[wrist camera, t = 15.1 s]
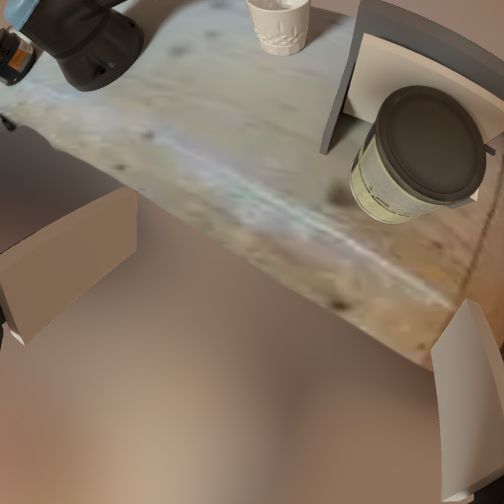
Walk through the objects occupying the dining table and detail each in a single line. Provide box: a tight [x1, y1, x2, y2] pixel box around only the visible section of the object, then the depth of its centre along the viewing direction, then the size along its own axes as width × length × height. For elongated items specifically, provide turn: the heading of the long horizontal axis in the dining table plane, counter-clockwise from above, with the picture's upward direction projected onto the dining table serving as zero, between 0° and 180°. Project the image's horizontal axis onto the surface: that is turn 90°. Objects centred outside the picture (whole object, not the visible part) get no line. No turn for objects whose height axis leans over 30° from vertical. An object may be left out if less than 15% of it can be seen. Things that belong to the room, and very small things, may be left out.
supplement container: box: [0, 28, 36, 86], centre depth 38 cm, size 10×10×12 cm
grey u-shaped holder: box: [320, 0, 504, 209], centre depth 26 cm, size 13×18×15 cm
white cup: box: [245, 0, 311, 56], centre depth 31 cm, size 8×8×10 cm
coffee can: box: [349, 85, 486, 224], centre depth 27 cm, size 10×10×14 cm
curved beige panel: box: [343, 33, 504, 156], centre depth 25 cm, size 1×18×14 cm, turn 69°
